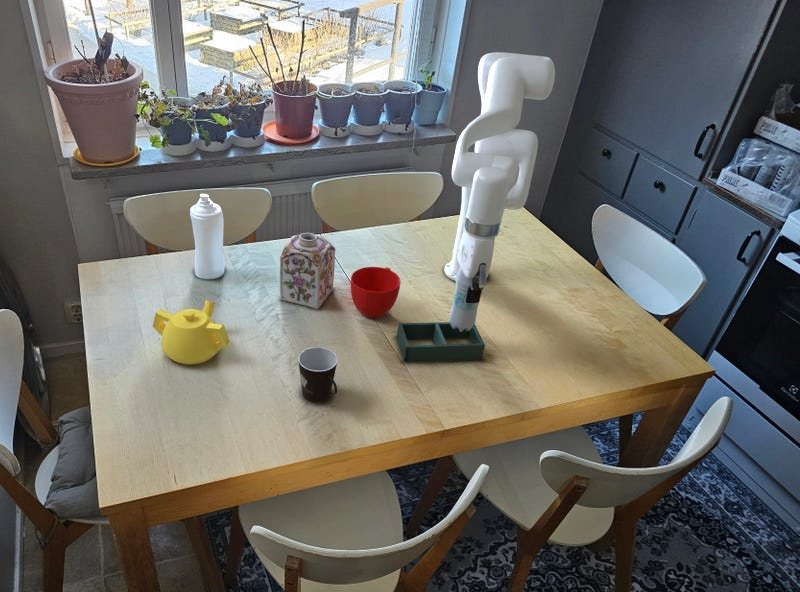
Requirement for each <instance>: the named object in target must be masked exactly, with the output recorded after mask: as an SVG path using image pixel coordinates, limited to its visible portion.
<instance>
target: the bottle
mask: <svg viewBox="0 0 800 592" xmlns="http://www.w3.org/2000/svg"><path fill="white" fill-rule="evenodd" d="M475 276H479V273H476V275H475ZM478 281H479V279H474V284H475V283H478ZM468 288H470V279H468V278H467V277H466V276H465V275H464V273H463V271H462V268H461V267H460V268H459V271H458V274H457V276H456V281H455V291H454V296H453V301H452V305H451V309H450V312H449V318H448V322H449V323H450V324H451V326H452V328H453V329H456V327H457V328H458V329H459V331H460V332H462V331H463V330H464V329H465V330H466V331H469V330H470V329H471V328H472V327H473V326H474V324H475V325H476V321H477V314H478V308H479V303H480V302H479V303H466V301H465V300H466V296H467V291H468Z"/></svg>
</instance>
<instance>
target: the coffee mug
mask: <svg viewBox="0 0 800 592" xmlns="http://www.w3.org/2000/svg"><path fill="white" fill-rule="evenodd" d="M338 361H339V359H338V355H337V354H336V353H335V351H333V350H332V349H330V348H327V347H323V346H311V347H308V348H305V349H303V350H302V351H301V352H299V354H298V357H297V362H298V371H299V379H300V386H301V394H302V397H303V398H304V399H305V400H306V401H307V402H309V403H314V404H321V403H324V402H326V401H328V400H329V399H330V397H332V396H335V395H336V394H337V393H338V385H337V383H336V381H335V380H334V379H335V375H336V370H337V366H338V363H339V362H338ZM333 387H334V391H333V392H332V390H333Z"/></svg>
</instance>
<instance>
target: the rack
mask: <svg viewBox="0 0 800 592" xmlns="http://www.w3.org/2000/svg"><path fill="white" fill-rule="evenodd" d="M463 338H465V339H467V338H468V340H469V343H452V344H451V343H448V344H447V341H446V339H463ZM424 339H426V340H427V339H428V340H429V339H432V340H433V343H434V344H416V345H415V344H411V345H409V341H408V340H424ZM396 341H397V343H398V347H399V351H400V353H401V357H402V360H403V363H416V362H417V363H419V362H423V363H425V362H454V361H455V362H456V361H482V360H483V356H484V352H485V348H486V343H485V342H484V340H483V338H482V336H481V334H480V332H479V329H478V327H477V325H476V323H475V324H474V326H473V327H472V328H471V329H470V330H469V331H466V330H465V329H464V330H463V331H462V332H460V331H459V329H458V328H457V327H456V329H453V328H452V326H451V324H450V323H449V321H436V322H434V321H433V322H398V324H397V332H396Z"/></svg>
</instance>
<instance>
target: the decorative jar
mask: <svg viewBox="0 0 800 592" xmlns="http://www.w3.org/2000/svg"><path fill="white" fill-rule="evenodd" d="M335 265H336V247H335V246H334V245H333V244H332V243H331V242H330V241H329V240H328V239H326V237H324V236H321V235H317V234H315V233H314V232H313V233H312V232H303V233H300V234H296V235H292V236H291V237H290V238H289V239H287V241H286V242H285V244H284V246H283V249H282V251H281V253H280V256H279V299H280V300H281V301H285V302H289V303H292V304H296V305H300V306H303V307H308V308H312V309H317V310H318V309H319V308H320V307H321V305H322V304H323V303H324V301H325V300H326V299H327V298H328V296H329V295H330V293H332V291H333V290H334V283H335V281H334V280H335Z"/></svg>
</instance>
